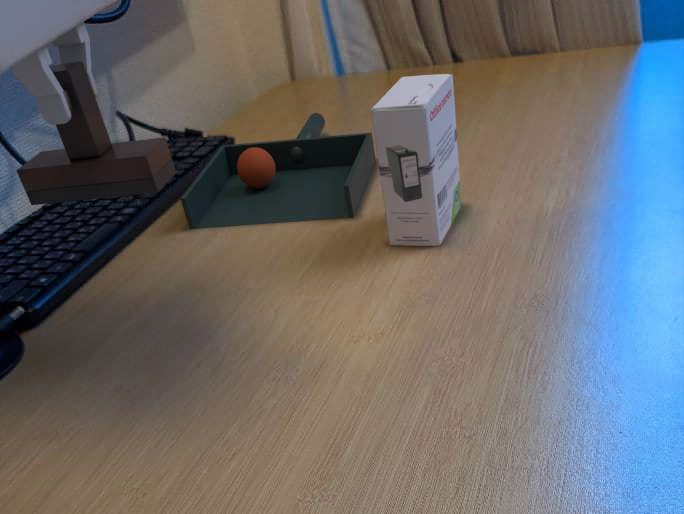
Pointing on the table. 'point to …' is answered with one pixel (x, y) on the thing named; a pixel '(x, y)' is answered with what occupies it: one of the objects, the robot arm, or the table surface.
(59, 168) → the brush
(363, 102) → the table surface
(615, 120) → the table surface
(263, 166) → the ball
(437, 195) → the ink box
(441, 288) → the table surface
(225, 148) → the dustpan
